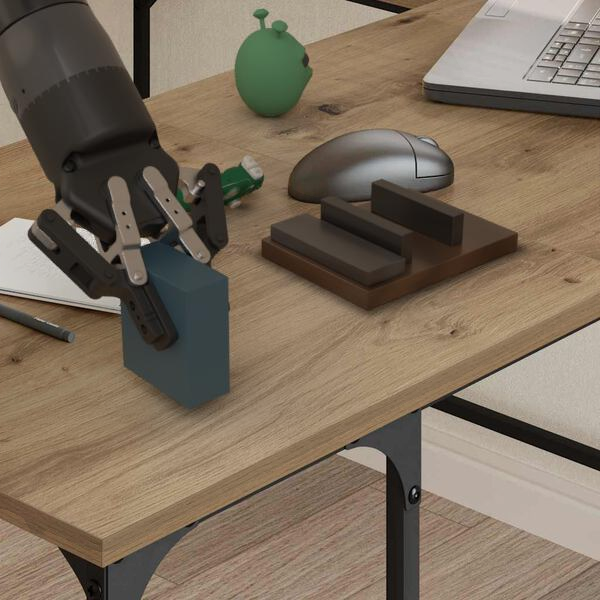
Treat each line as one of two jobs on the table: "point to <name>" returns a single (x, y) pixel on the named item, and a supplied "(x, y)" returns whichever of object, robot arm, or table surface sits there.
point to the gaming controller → (235, 183)
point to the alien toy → (271, 69)
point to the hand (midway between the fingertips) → (193, 334)
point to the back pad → (183, 329)
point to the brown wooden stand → (384, 244)
